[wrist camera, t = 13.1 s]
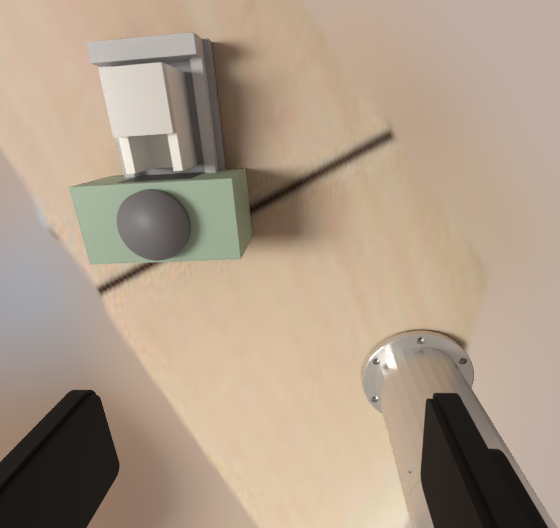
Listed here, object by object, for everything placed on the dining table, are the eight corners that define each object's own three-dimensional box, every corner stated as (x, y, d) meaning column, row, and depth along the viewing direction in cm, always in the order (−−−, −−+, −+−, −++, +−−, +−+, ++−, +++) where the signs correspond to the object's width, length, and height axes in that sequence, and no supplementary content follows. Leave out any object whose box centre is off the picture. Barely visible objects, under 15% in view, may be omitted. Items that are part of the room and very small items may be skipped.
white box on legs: (130, 76, 32) (98, 68, 27) (184, 71, 31) (161, 62, 27) (147, 168, 35) (121, 175, 30) (197, 164, 34) (179, 171, 29)
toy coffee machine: (252, 236, 38) (238, 263, 30) (126, 240, 39) (83, 268, 32) (233, 39, 31) (210, 13, 24) (83, 53, 33) (16, 32, 25)
